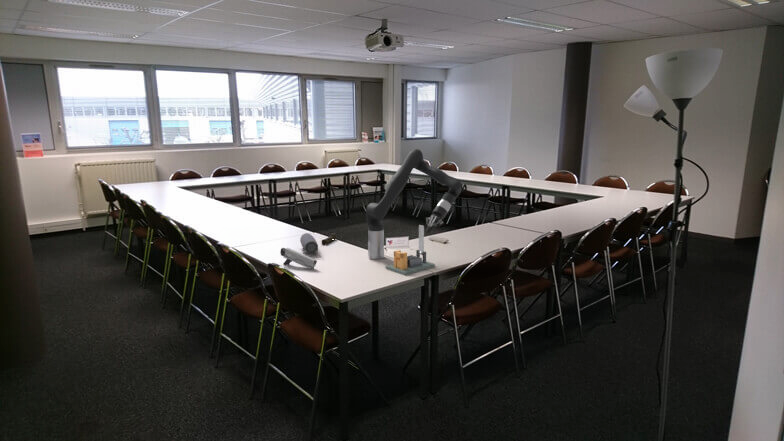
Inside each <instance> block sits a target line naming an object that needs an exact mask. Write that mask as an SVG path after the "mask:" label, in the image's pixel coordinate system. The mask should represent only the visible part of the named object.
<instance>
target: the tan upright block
mask: <svg viewBox="0 0 784 441" xmlns="http://www.w3.org/2000/svg"><path fill="white" fill-rule="evenodd" d="M407 256H408V252H407V251H404V252H402V250H399V249H398V250H395V251H393V264H394V267H395V268H396V267H397V268H399V269H401V270H403V269H407Z"/></svg>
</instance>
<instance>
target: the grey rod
mask: <svg viewBox="0 0 784 441" xmlns="http://www.w3.org/2000/svg"><path fill="white" fill-rule="evenodd" d="M424 239H425V226H424V225H421V224H419V225H418V250H419V252H418V253H419V254H420V255H422V256H423V252H425V250H424V249H425V248H424V247H425V245H424V244H425V240H424Z"/></svg>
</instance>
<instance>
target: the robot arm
mask: <svg viewBox="0 0 784 441" xmlns="http://www.w3.org/2000/svg"><path fill="white" fill-rule="evenodd" d="M413 169H415V170H417V171H419V172H421V173H423V174H425V175H426V176H429V177H430V178H431V179H433V180H434V181H436V182H437V183H439V184H440V185H441V186H443V187H445V186H447V187H448V191H447V192H446V193H444V194H443V196H442V197H441V199H440V200H439V201H438V203H437V205H435V208H434V209H433V210H432V214H431V215H430V217H428V216H427V217H425V223H426V226H427V227H426V229H425V230H424V233H426V234H428V235H429V234H430V233H431V232H432V231H433V229H437V228H439V227H441V226H442V225H444V221H443V220H444V219H445V217H446V215H447V214H448V212H449V211H450V209H451V207H452V206H453V203H454V202H455V200H456V199H457V198H458V197H459V196H460V194H461V192H462V182H461V181H460V180H459V179H458V178H456V177H453V176H450V175H449V174H447V173H446V172H445V171H443V170H441V169H440V168H438V167H434V166H432V165H430V164H428V163H427V161H425V159H424V154H423V152H422V151H421V150H420V149H417V148H416V149H415V148H414V149H413V150H411V151H409V153H408V154H407V155H406V157H405V159H404V161H403V163H402V164H401V165H400V166H399V168H398V169H397V170H396V172H395V173H394V174H393V176H392V177H391V179H390V180H389V181H388V182H387V185H386V188H385V193H384V195H383V197H382V198H381V200H380V201H379V202H378V203H376V202H371V203H369V204H368V205H367V206H366V210H365V211H366V212H365V215H366V218H365V219H366V226H367V228H368V229H367V230H368V241H367V246H368V247H367V251H368V252H367V254H368V255H367V256H368V258H369V259H370V260H381V259H384V258H385V235H384V234H385V233H384V231H385V230H384V224H383V223H382V222H381V220H382V219H384V217H385V216H386V215H387V213H388V211H389V210H390V208H391V206H392V205H393V203H394V202H395V200H396V198H397V197H398V196H399V195H400V193H401V192H402V191H403V190H404V188H405V187H406V184H407V183H408V181H409V178H410V176H411V174H412V172H413Z"/></svg>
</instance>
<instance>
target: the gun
mask: <svg viewBox="0 0 784 441" xmlns="http://www.w3.org/2000/svg"><path fill="white" fill-rule="evenodd" d="M279 254H280V256H281V257H283V258H284V259H286V260H284V262H283V265H284V266H288V265H290V263H292V262H294V263H296V264H297V265H300V266H302V267H305V268H307V269H310V270H314V268H315V267H317V266H316V265H317V260H316V259H315V258H313V257H311V256H308V255H306V254H303V253H301V252H298V251H297V250H294V249H291V248H290V247H287V248H285V247H281V248H280V253H279Z"/></svg>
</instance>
